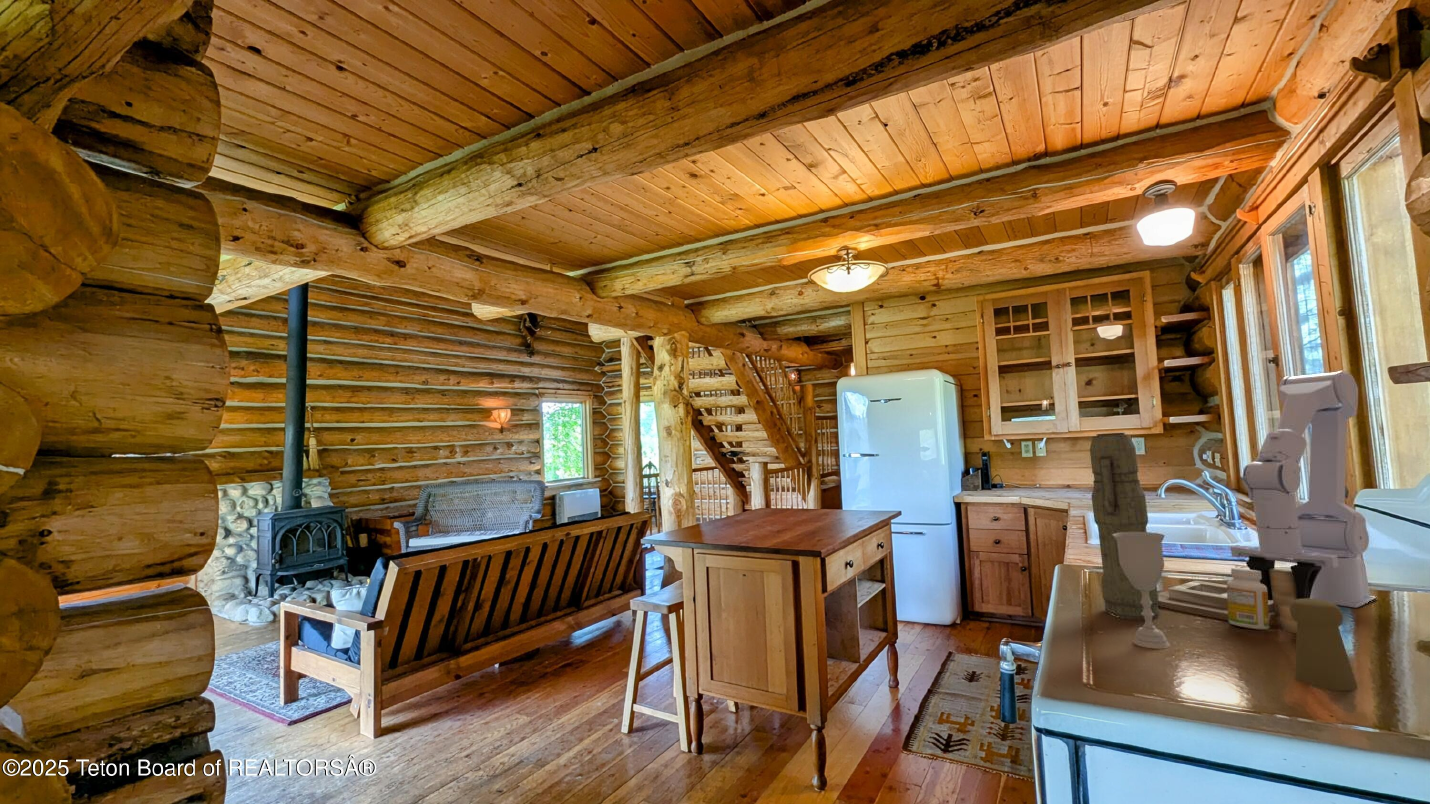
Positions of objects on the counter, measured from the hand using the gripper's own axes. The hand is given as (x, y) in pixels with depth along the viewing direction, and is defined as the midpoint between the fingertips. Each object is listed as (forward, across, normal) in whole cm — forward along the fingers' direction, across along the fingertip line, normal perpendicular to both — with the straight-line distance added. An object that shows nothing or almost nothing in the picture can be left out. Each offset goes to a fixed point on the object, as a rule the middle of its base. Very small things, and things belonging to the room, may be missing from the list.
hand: (1287, 601), depth 109 cm
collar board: (+2, -11, -2) cm, 11 cm away
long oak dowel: (+2, 0, 0) cm, 2 cm away
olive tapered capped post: (+3, +15, -30) cm, 34 cm away
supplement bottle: (+3, -1, -12) cm, 12 cm away
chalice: (+3, -6, -32) cm, 33 cm away
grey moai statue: (+3, -17, -18) cm, 25 cm away
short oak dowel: (+2, +4, -8) cm, 9 cm away
